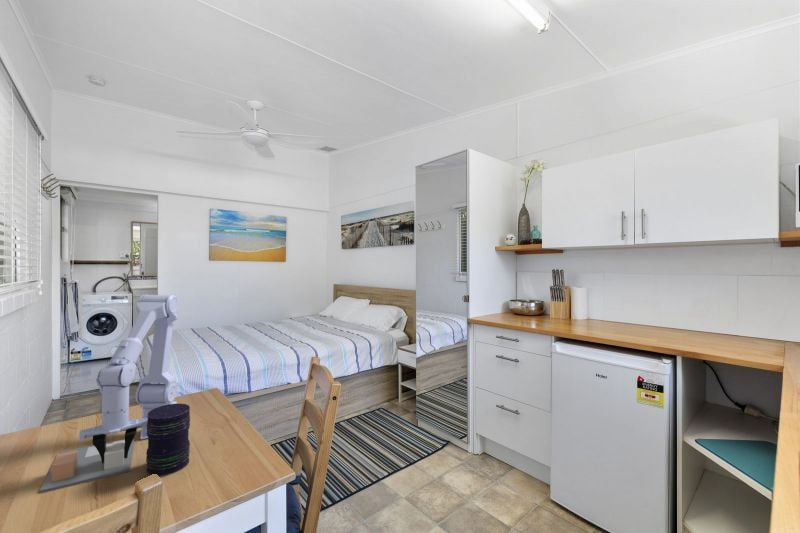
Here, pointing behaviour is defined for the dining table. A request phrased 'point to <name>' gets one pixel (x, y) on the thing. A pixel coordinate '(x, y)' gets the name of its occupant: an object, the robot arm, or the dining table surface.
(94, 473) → the baseplate
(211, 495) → the dining table surface
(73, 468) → the terracotta brick
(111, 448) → the off-white brick
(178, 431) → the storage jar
